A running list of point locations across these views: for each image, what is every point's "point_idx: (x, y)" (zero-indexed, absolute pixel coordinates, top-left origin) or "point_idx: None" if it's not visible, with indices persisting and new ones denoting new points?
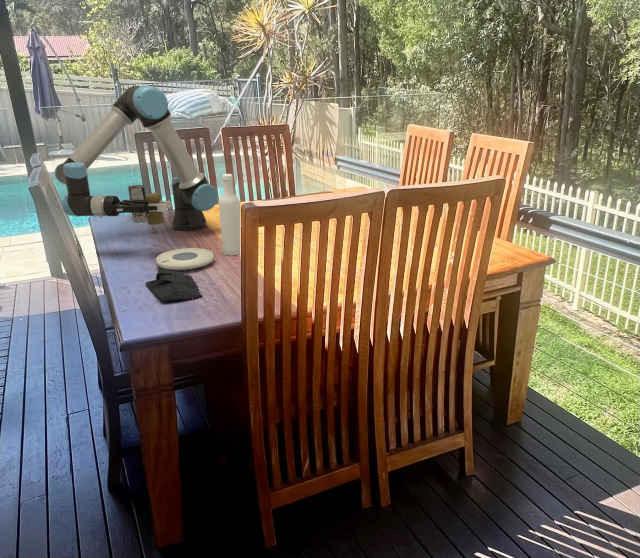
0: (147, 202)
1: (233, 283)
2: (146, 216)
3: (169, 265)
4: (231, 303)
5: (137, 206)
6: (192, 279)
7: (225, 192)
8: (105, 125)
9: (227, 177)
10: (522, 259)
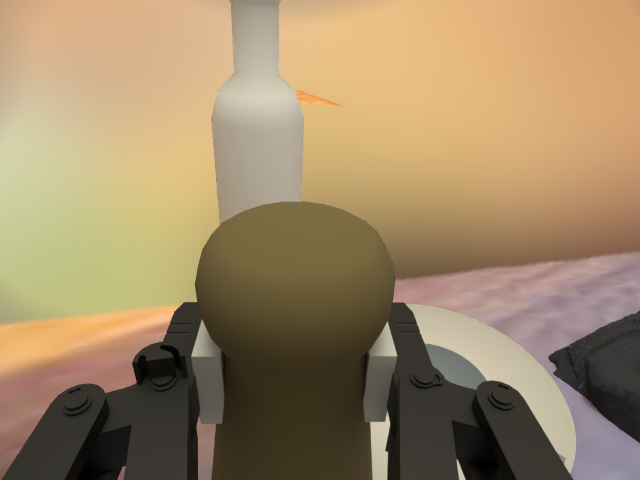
0: (189, 445)
1: (525, 268)
2: None
3: (569, 414)
4: (633, 258)
5: (558, 460)
6: (590, 335)
7: (275, 66)
8: None
9: None
10: (302, 96)
